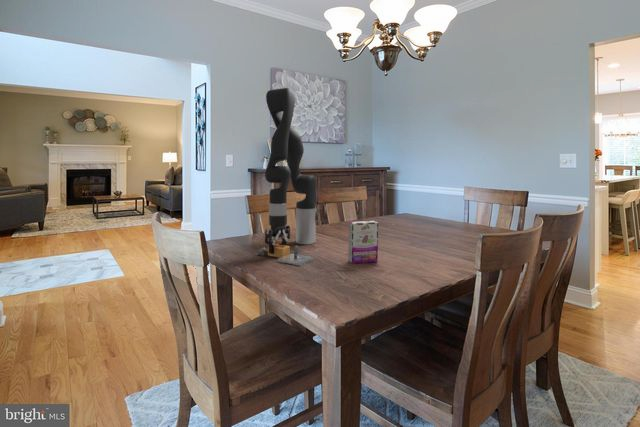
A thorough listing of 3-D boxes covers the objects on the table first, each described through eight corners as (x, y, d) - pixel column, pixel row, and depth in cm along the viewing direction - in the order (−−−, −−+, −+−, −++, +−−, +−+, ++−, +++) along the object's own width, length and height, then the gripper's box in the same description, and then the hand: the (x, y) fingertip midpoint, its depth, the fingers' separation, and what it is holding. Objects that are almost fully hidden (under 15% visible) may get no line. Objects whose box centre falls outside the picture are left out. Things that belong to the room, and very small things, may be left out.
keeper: (292, 256, 157) (292, 241, 157) (314, 260, 152) (314, 245, 151) (277, 261, 149) (277, 246, 148) (300, 265, 143) (300, 250, 142)
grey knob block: (264, 252, 163) (264, 246, 162) (269, 253, 161) (269, 247, 161) (258, 254, 159) (258, 248, 159) (263, 255, 158) (263, 249, 157)
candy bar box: (372, 259, 155) (374, 220, 152) (377, 262, 150) (379, 222, 147) (347, 260, 152) (348, 221, 149) (351, 264, 147) (352, 223, 144)
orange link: (274, 252, 163) (274, 244, 162) (289, 255, 159) (289, 246, 158) (267, 255, 158) (267, 246, 158) (282, 258, 154) (282, 248, 154)
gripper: (281, 211, 164) (281, 247, 166) (260, 214, 152) (260, 253, 154) (295, 212, 160) (294, 249, 162) (274, 216, 148) (274, 256, 150)
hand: (277, 251), depth 158 cm, fingers open, 8 cm apart
